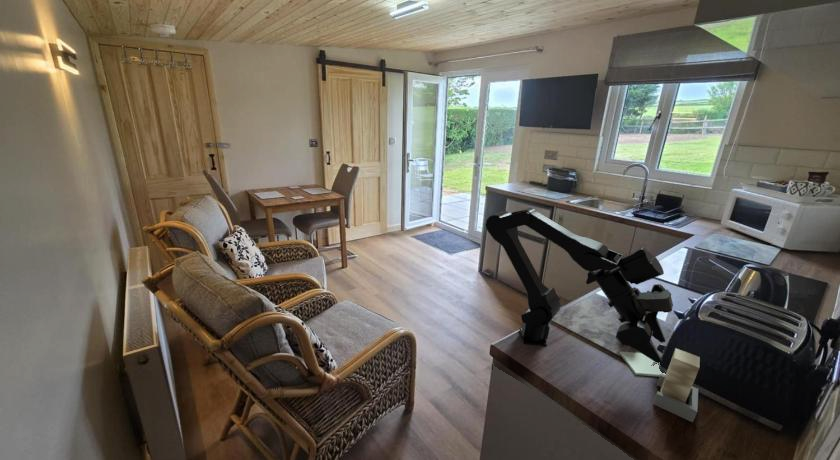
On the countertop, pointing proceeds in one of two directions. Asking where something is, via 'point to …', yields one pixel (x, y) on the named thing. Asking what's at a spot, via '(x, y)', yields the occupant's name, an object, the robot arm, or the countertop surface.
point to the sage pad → (641, 364)
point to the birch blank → (680, 375)
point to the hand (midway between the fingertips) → (661, 351)
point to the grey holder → (678, 402)
